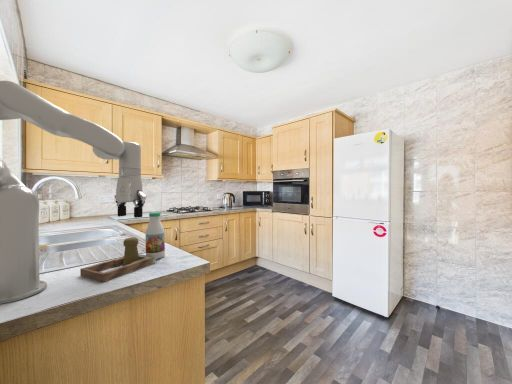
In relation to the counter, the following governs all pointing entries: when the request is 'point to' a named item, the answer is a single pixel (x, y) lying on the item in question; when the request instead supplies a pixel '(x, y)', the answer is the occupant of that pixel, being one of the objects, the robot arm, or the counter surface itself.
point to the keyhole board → (94, 270)
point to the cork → (130, 251)
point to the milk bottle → (155, 236)
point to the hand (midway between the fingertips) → (129, 216)
